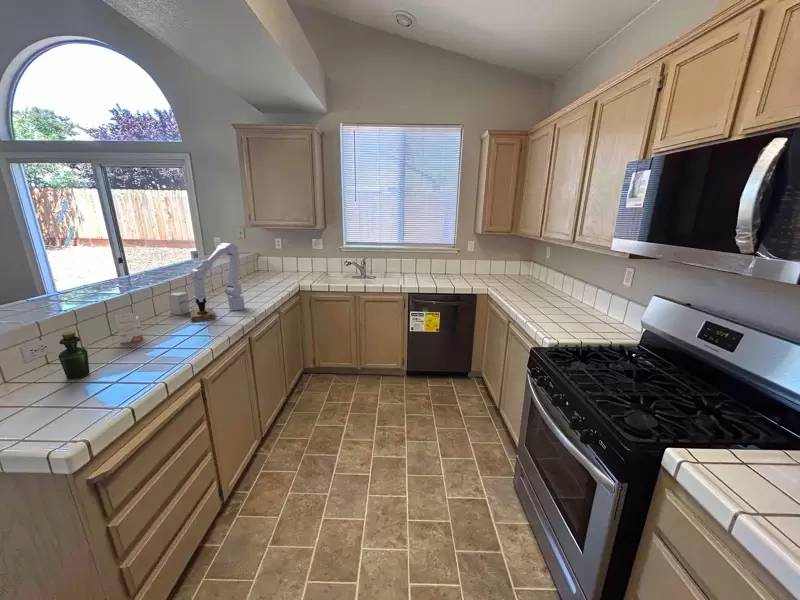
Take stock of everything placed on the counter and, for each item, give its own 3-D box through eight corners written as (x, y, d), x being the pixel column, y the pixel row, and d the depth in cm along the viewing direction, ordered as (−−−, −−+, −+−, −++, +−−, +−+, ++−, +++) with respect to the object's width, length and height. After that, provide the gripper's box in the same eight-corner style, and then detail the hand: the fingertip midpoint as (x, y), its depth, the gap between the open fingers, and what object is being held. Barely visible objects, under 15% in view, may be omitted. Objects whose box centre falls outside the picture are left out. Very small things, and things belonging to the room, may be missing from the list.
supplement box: (180, 314, 207) (177, 295, 203) (170, 313, 208) (167, 294, 205) (189, 311, 214) (187, 292, 210) (180, 310, 215) (177, 291, 212)
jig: (213, 312, 214) (212, 307, 214) (214, 319, 201) (214, 314, 201) (191, 314, 208) (190, 309, 207) (191, 321, 195) (191, 317, 194)
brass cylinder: (206, 314, 206) (205, 302, 204) (206, 316, 202) (205, 303, 200) (199, 315, 204) (197, 302, 202) (199, 317, 200) (197, 304, 198)
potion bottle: (63, 375, 131) (53, 332, 126) (91, 369, 137) (82, 328, 132) (64, 383, 125) (52, 338, 121) (92, 376, 131) (83, 333, 126)
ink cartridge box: (143, 337, 170) (138, 310, 167) (141, 340, 166) (136, 312, 162) (122, 339, 166) (116, 312, 163) (119, 343, 162) (113, 314, 158)
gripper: (191, 286, 202) (194, 308, 206) (191, 292, 191) (194, 314, 194) (204, 285, 206) (207, 306, 210) (205, 291, 194) (208, 313, 198)
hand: (202, 310), depth 202 cm, fingers closed on brass cylinder, 4 cm apart
